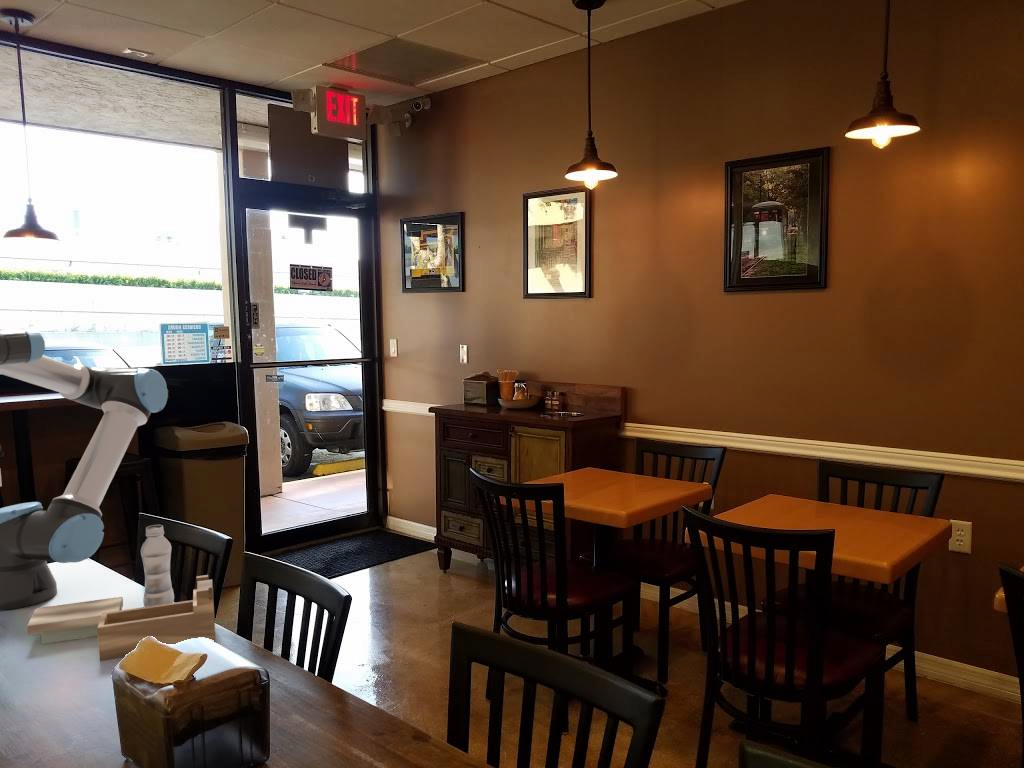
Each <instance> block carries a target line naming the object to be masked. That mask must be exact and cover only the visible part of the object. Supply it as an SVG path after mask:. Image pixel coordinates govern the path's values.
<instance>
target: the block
mask: <svg viewBox="0 0 1024 768" xmlns="http://www.w3.org/2000/svg"><path fill="white" fill-rule="evenodd" d="M205 588H208V589H209V599H210V598H213V599H214V587H213V579H212V578H211V579H208V580H204V581H197V580H196V589H205Z"/></svg>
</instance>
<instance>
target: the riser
mask: <svg viewBox="0 0 1024 768" xmlns="http://www.w3.org/2000/svg"><path fill="white" fill-rule="evenodd" d="M91 637H98V625H93V626H86V627H79V628H72V629H65V630H59V631H52V632H45V633H40V640H41V644H42V645H45V644H53V643H57V642H65V641H70V640H71V641H72V640H79V639H83V638H91Z"/></svg>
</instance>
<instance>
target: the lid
mask: <svg viewBox="0 0 1024 768" xmlns="http://www.w3.org/2000/svg"><path fill="white" fill-rule="evenodd" d="M123 597H124V596H117V597H110V598H101V599H95V600H89V601H80V602H72V603H66V604H57V605H51V606H50V605H49V606H43V607H37V608H36V607H35V609H34V612H33V614H32V616H31V617H30V619H29V621H28V622H27V625H26V631H27V636H31V635H36V634H41V633H45V632H52V631H59V630H65V629H72V628H79V627H86V626H93V625H99V621H100V618H101V615H102V613H106V612H113V611H120V610H123V606H124V601H123V600H124V599H123Z"/></svg>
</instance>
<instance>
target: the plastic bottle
mask: <svg viewBox="0 0 1024 768" xmlns="http://www.w3.org/2000/svg"><path fill="white" fill-rule="evenodd" d="M164 534H165V531H164V525H162V524H153V525H149V526H146V527H145V537H147V538H146V539H145V541H144V542H143V543H142V546H141V548H140V556H141V560H142V564H143V570H144V592H143V601H142V602H143V607H148V606H155V605H162V604H169V603H175V594H174V592H175V591H174V588H173V587H172V580H171V557H172V556H171V555H172V545H171V542H170V541H169V540H168V539H167V538H166V537H165V536H164Z"/></svg>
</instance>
